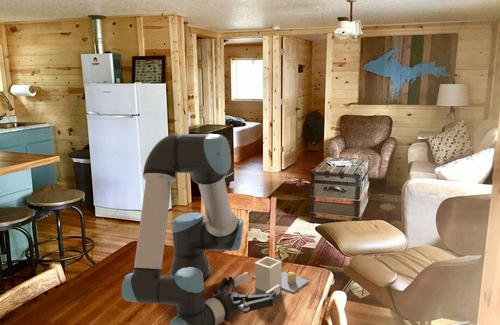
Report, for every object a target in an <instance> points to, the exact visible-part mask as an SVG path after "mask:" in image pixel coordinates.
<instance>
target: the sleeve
mask: <svg viewBox="0 0 500 325" xmlns="http://www.w3.org/2000/svg"><path fill="white" fill-rule="evenodd" d="M282 266H283V265H282V260H278V259H276V258H272V257H269V256H267V255H266V256H265V257H262V258H261V259H259V260H258V261H255V262H254V275H255V279H254V292H255V295H261V294H266V292H267V291H268V290H270V289H271V288H273V287H275V286H276V285H278V284H279V285H280V293H279V294H277V295H276V297H275V298H277V297H278V296H280V295H281V294H283V293H282V290H283V289H282V270H283V269H282ZM275 298H273V300H274V299H275Z"/></svg>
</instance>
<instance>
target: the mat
mask: <svg viewBox="0 0 500 325" xmlns="http://www.w3.org/2000/svg"><path fill="white" fill-rule="evenodd" d="M251 295H255V291H253V292H252V293H250V296H251ZM285 297H287V295H286V294H284V293H282V294H281V295H280V296H278V297H277V298H275V299H274V300H273V305H275V304H276V303H278V302H280V301H281V300H283V298H285Z"/></svg>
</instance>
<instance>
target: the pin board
mask: <svg viewBox="0 0 500 325" xmlns="http://www.w3.org/2000/svg"><path fill="white" fill-rule="evenodd" d="M252 278H253V279H254V280H255V274H254V275H253V276H252ZM309 283H310V280H308V279H305V278H301V277H299V276H297V273H296V271H295V272H294V271H289V272H284V271H282V290H283V291H285V292H288V293H291V294H294V293H297V291H299V290H300V289H301V288H304V286H306V285H308V284H309Z"/></svg>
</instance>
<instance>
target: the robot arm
mask: <svg viewBox="0 0 500 325" xmlns="http://www.w3.org/2000/svg"><path fill="white" fill-rule="evenodd" d="M231 166H232V155H231V146H230V144H229V141H228V139H227V137H225V136H224V135H223V134H218V133H217V134H216V133H215V134H214V133H173V134H169V135H167V136H165V137H163V138H162V139H160V140H159V141H158V142H157V143H156V144H155V145H154V147H153V148H152V149H151V151H150V152H149V154H148V156H147V158H146V160H145V164H144V166H143V172H142V178H143V179H144V180H145V183H144V191H143V198H142V205H141V213H140V220H139V228H138V236H137V244H136V250H135V251H136V253H135V257H134V266H133V272H132V273H131V272H130V273H128V274H126V275H125V276H124V278H123V281H122V283H121V295H122V297H123V299H124V300H125V301H127V302H131V303H138V304H143V303H144V304H160V305H172V306H176V314H177V315H176V316H174V317H173V318H172V319H171V320H170V321H169V324H168V325H220V323H222V322H224V321H226V320H228V319H229V318H231V317H232V316H233V315H234V314H235V312H236V311H238V310H241V311H242V312H243V314H248V313H250V312H252V311H253V312H254V311H257V310H260V309H265V308H269V307H272V306H273V305H274V304H273V298H275V297H276V295H277V294H279V293H280V285H279V284H278V285H276V286H275V287H273V288H271V289H270V290H268V291H267V292H266V294H261V295H251V294H250V295H248V294H239V293H237V292H236V291H233V289H234V288H236V287H239V286H240V285H241V284H243V283H245V282H247V281H248V280H249V272H247V271H246V272H243V273H242V274H240V275H238V276H235V277H232V276H229V277H228V278H227V277H224V278H222V281H221V282H220V283H219V285H218V287H216V289H215V290H213V291H212V293H213V294H212V296H211V297H209V298H207V299H205V282H204V280H205V279H206V278H208V277H209V276H210V274H211V265H210V263H209V261H208V260H209V259H208V258H207V255H206V250H208V251H222V252H223V251H226V252H236V251H239V250H240V249H241V246H242V241H243V233H244V232H243V231H244V220H243V219H241V218H238V217H237V215H236V214H235V213H234V212H233V211H232V208H231V203H230V199H229V195H228V194H229V192H228V189H227V184H226V179H225V177H226V176H227V174H228V173H229V171H230V170H231ZM178 173H179V174H181V173H182V174H184V173H185V174H187V173H188V174H189V175H190V177H191V180H192V181H193V182H195V184H198V188H199V192H200V195H201V200H202V202H203V206H204V210H205V213H206V218H205V216H204V214H203V213H202V212H196V211H195V212H194V211H193V212H187V213H184V214H180V215H179V216H176V217H175V218H174V219H173V221H172V230H171V232H172V245H173V246H172V247H173V260H172V264H171V267H170V269H169V272H170V275H167V274H166V275H165V274H162V269H163V268H162V267H163V259H164V251H165V250H164V249H165V244H166V243H165V241H166V233H167V225H168V218H169V216H168V215H169V209H170V208H169V207H170V200H171V193H172V191H171V190H172V184H173V183H174V182H176V178H177V174H178ZM226 288H227V290H226ZM225 290H226V292H225Z"/></svg>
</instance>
